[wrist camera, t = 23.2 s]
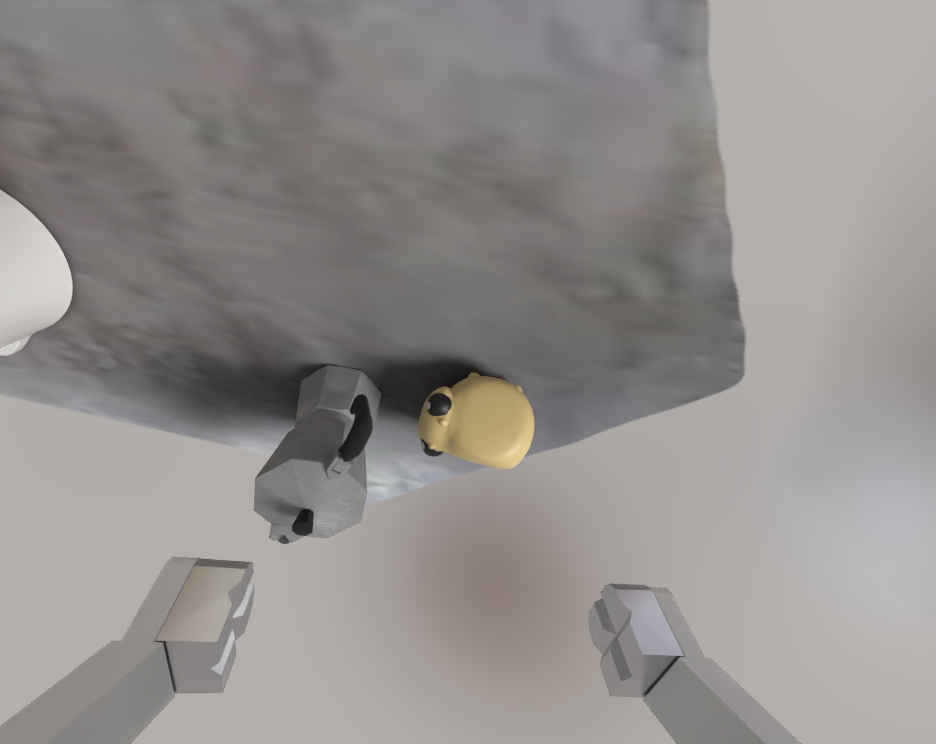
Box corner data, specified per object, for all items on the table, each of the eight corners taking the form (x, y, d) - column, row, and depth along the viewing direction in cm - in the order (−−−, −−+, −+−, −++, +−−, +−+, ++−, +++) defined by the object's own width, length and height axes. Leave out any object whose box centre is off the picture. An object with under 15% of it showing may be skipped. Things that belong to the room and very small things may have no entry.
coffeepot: (348, 454, 53) (317, 594, 37) (274, 419, 49) (206, 558, 34) (420, 363, 47) (417, 484, 32) (342, 317, 44) (296, 428, 28)
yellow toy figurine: (429, 348, 46) (429, 405, 37) (534, 367, 49) (559, 425, 39) (412, 421, 51) (409, 487, 42) (508, 435, 53) (526, 501, 44)
